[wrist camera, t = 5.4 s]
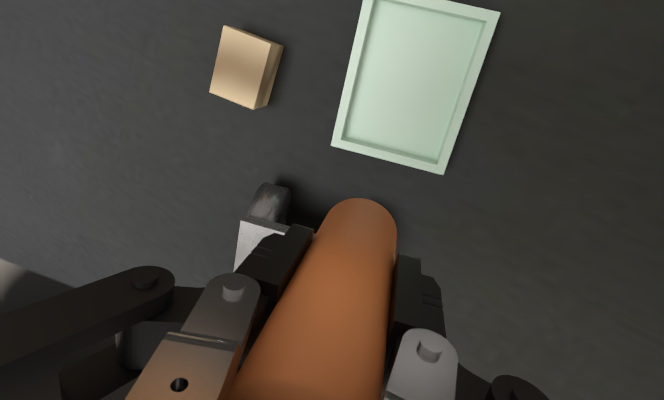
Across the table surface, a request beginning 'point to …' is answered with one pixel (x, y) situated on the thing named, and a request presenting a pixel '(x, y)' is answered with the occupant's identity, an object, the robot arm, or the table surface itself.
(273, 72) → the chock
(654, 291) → the table surface
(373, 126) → the tray
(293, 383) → the pin
